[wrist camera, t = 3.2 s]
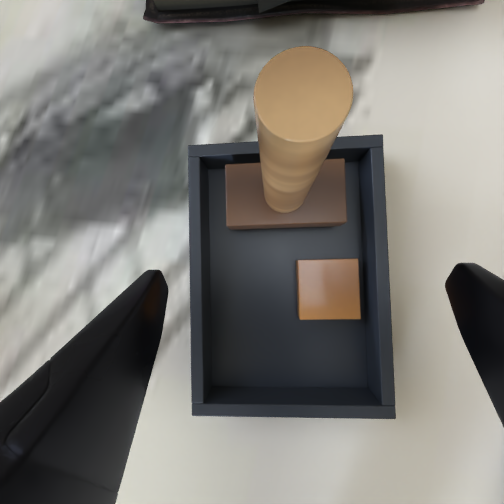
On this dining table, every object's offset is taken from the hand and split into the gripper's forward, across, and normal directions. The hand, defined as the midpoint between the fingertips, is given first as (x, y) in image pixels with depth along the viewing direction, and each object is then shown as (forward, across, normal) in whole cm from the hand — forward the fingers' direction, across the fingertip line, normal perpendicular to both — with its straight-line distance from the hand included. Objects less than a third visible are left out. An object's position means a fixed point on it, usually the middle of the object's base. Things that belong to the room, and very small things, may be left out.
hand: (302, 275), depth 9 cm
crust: (+7, -3, +9) cm, 12 cm away
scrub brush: (+11, 0, +5) cm, 12 cm away
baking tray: (+8, 0, +9) cm, 12 cm away
